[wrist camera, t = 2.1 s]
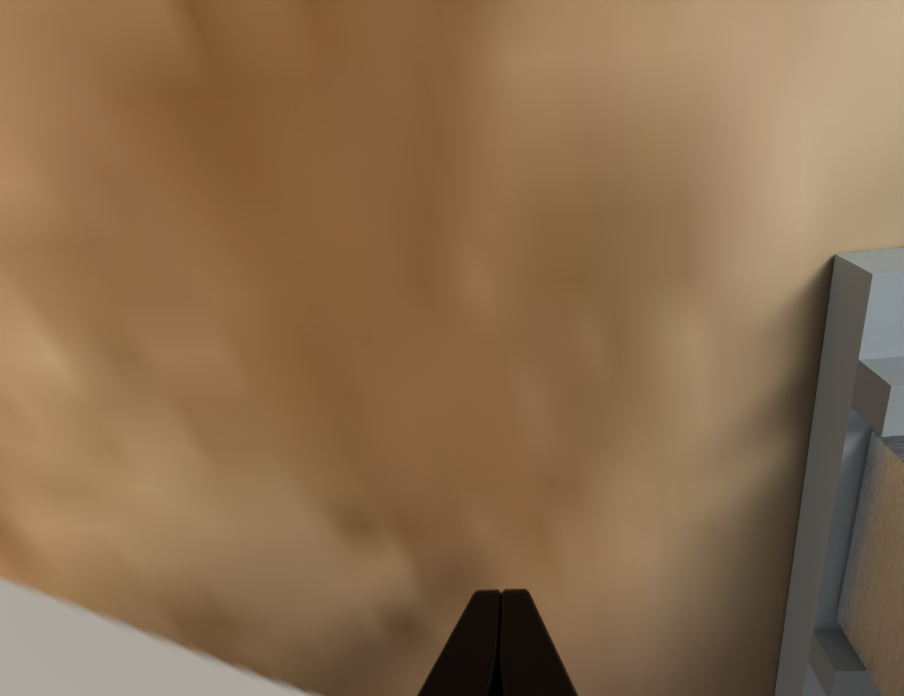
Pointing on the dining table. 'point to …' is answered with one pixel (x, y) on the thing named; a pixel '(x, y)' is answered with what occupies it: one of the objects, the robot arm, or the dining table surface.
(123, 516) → the dining table surface
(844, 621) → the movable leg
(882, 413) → the board
